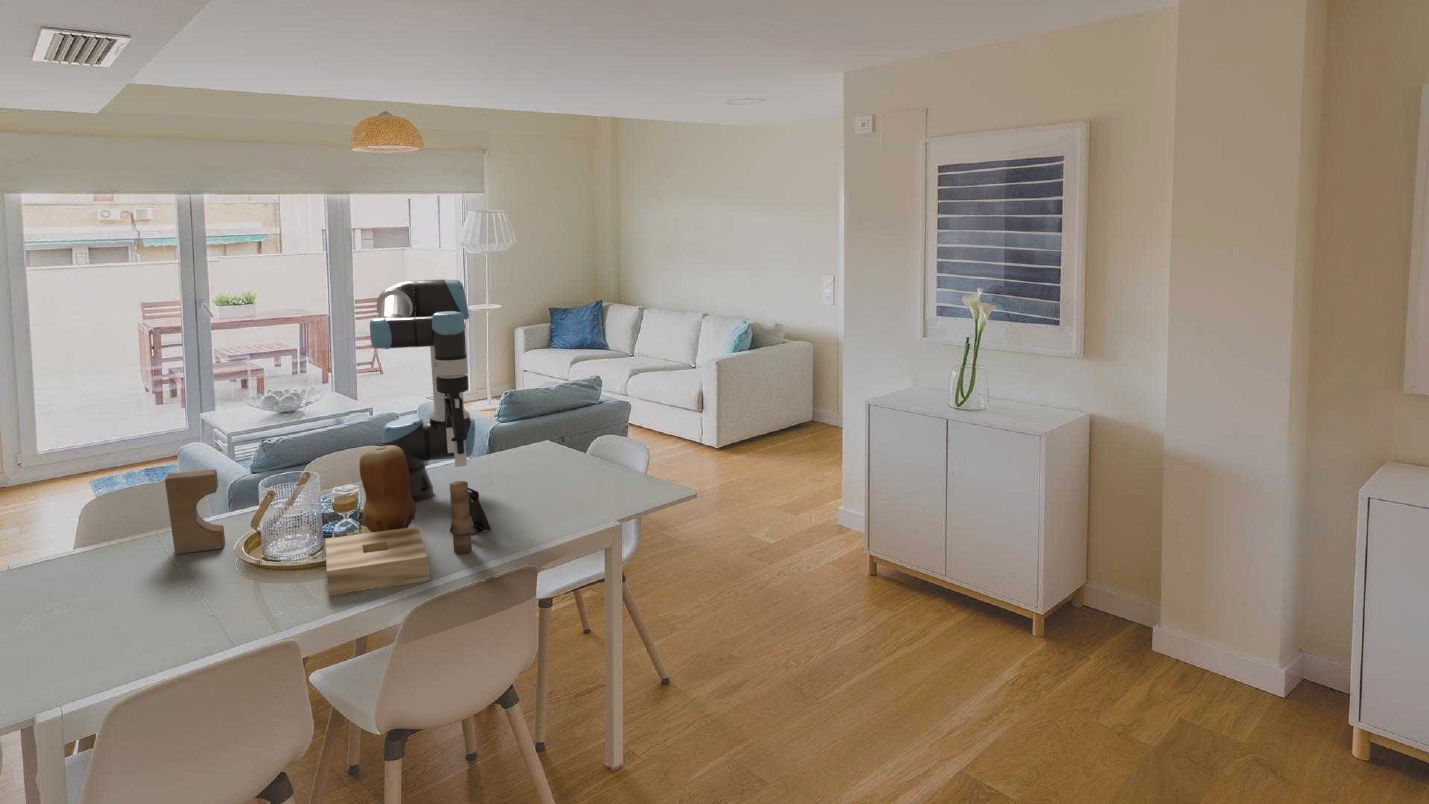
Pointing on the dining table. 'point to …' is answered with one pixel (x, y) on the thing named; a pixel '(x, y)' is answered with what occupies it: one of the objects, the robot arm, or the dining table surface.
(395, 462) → the butternut squash
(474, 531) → the black a-frame stand
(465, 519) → the leg
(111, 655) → the dining table surface
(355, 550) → the seat block
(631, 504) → the dining table surface
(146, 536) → the dining table surface
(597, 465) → the dining table surface
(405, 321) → the robot arm
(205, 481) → the decorative block
